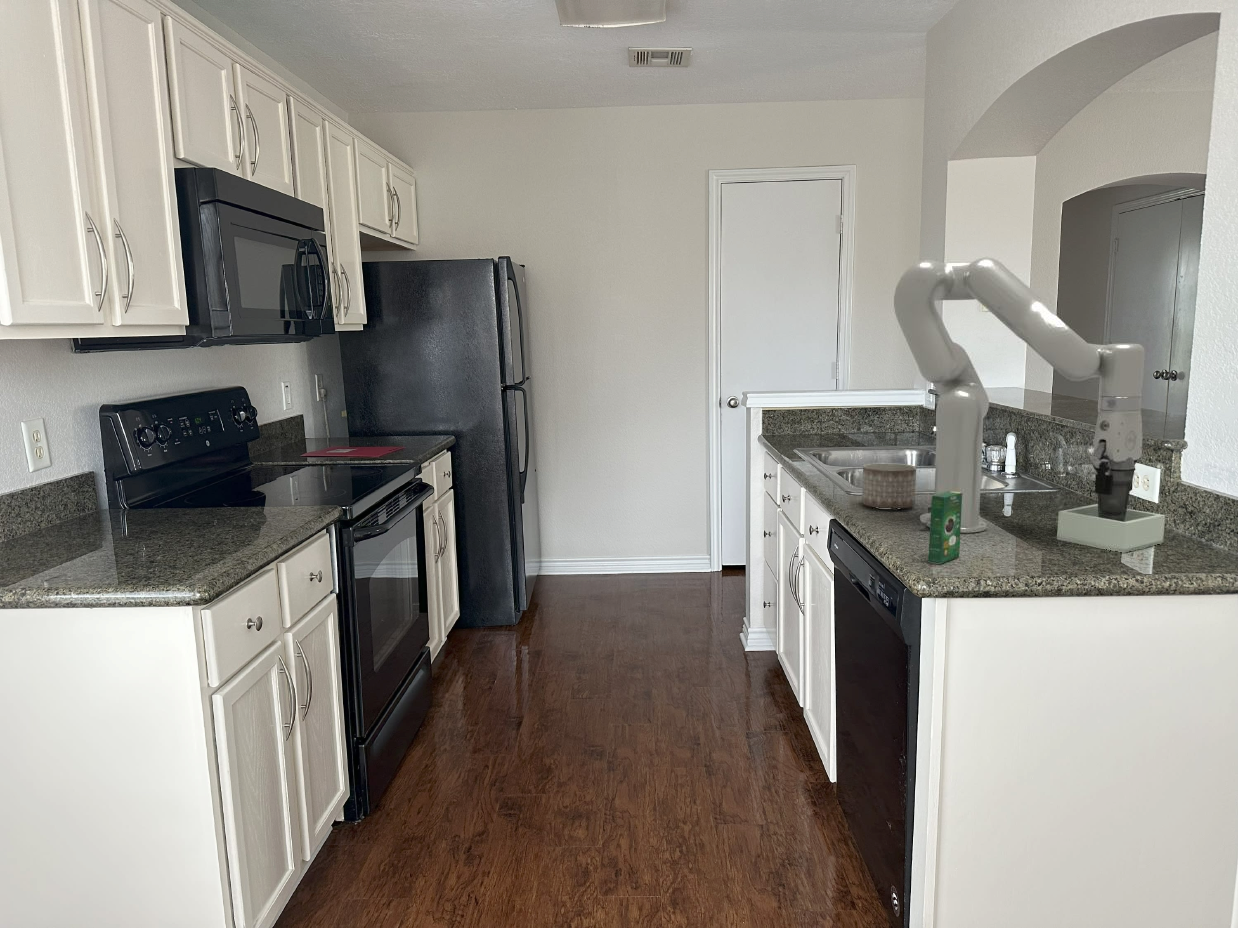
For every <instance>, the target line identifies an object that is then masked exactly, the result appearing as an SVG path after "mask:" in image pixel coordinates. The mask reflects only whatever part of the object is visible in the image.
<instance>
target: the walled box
mask: <svg viewBox="0 0 1238 928" xmlns="http://www.w3.org/2000/svg"><path fill="white" fill-rule="evenodd" d="M1165 520H1166V515H1165V514H1160V513H1156V512H1155V513H1154V512H1148V511H1142V510H1136V509H1130V508H1127V511H1126V517H1125V520H1124V522H1122V521H1116V520H1110V519H1105V518H1099V516H1098V503H1096V504H1095V503H1094V504H1091V505H1090V504H1089V505H1085V506H1079V507H1075V508H1069V509H1065V510H1058V518H1057V532H1056V533H1057V534H1056V540H1058V541H1063V542H1068V543H1072V544H1078V545H1082V546H1088V547H1093V548H1097V549H1101V550H1106V549H1107V550H1106V551H1110V550H1111V552H1115V551H1118V552H1117V553H1120V552H1122V553H1121V554H1126V552H1128V553H1130V552H1129V551H1132V552H1135V551H1134V550H1136V551H1139V550H1138V549H1140V550H1143V548H1144V549H1147V548H1146V547H1148V548H1150V547H1149V546H1152V547H1155V546H1154V545H1156V546H1158V545H1157V544H1160V545H1162V544H1161V543H1163V544H1164V533H1165V523H1166V521H1165Z"/></svg>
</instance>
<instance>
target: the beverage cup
mask: <svg viewBox="0 0 1238 928" xmlns="http://www.w3.org/2000/svg"><path fill="white" fill-rule="evenodd" d="M1103 459H1109V457H1103ZM1109 460H1110V459H1109ZM1104 464H1105V466H1106V468H1107V465H1108V463H1104ZM1136 470H1137V469H1136V464H1135V463H1134V460H1133V459H1132V458H1131V457H1128V458H1127V459H1126V460H1125V461H1123V462H1114V463H1113V469H1112V472H1111V475H1113V482H1112V494H1111V495H1105V494H1098V493H1096V494H1097V504H1098V516H1099V518H1105V519H1110V520H1116V521H1122V522H1124V520H1125V517H1126V511H1127V509H1128V506H1129V505H1128V504H1129V498H1130V493H1131V491H1130V487H1131V481H1132V479H1134V475H1135V471H1136Z"/></svg>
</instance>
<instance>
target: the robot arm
mask: <svg viewBox="0 0 1238 928" xmlns="http://www.w3.org/2000/svg"><path fill="white" fill-rule="evenodd" d="M969 300H976V301H977V302H979V304H981V305H982V306H983V307H985V308H986V310H988V311H989V312H990V313H991V314H992V315H994V317H996V318H997V319H998V320H999V321H1000V322H1001V323H1002V324H1003V325H1005V327H1006V328H1008V329H1009V331H1011V332H1012V333H1013V334H1014V335H1015V336H1017V338H1019V339H1021V340H1022V341H1023V342H1025V344H1027V345H1028V346H1029V347H1030V348H1031V349H1032V350H1033V351H1034V352H1036V353H1037V355H1039V356H1040V357H1041V358H1042V359H1043V360H1044V361H1045V362H1047V364H1049V365H1050V366H1051V367H1052V368H1053V369H1055V371H1056V372H1058V373H1059V374H1060V375H1061V376H1062V377H1064V378H1066V379H1067V380H1069V381H1073V382H1074V381H1075V382H1081V381H1084V380H1086V381H1087V380H1089V379H1090V378H1091V379H1092V378H1099V384H1098V385H1099V386H1098V387H1099V388H1098V401H1097V403H1098V404H1097V412H1098V414H1097V419H1096V425H1095V430H1094V437H1093V453H1092V454H1091V455H1090V461H1091V463H1092V465H1093V466H1092V467H1093V469H1094V470H1093V471H1094V474H1095V481H1094V482H1095V484H1094V493H1095V494H1097V493H1098V494H1105V495H1111V494H1112V482H1113V475H1111V472H1112V469H1113V463H1114V462H1123V461H1125V460H1126V459H1127V458H1128V457H1131V458H1132V459H1133V460H1134V463H1135V465H1136V464H1137V462H1138V460H1139V459H1140V458H1141V457H1142V453H1143V419H1142V412H1141V411H1142V410H1141V408H1142V395H1143V381H1144V368H1145V357H1146V356H1145V355H1146V353H1145V347H1144V346H1143V345H1142V344H1139V343H1109V344H1095V343H1088V342H1087V341H1085V340H1084V339H1083V337H1081V336H1080V335H1079V334H1077V333H1076V332H1075V331H1074V330H1073V329H1072V328H1070V326H1069V325H1067V324H1066V323H1065V322H1064V321H1063V320H1062V319H1061V318H1060V317H1059V316H1058V315H1057V314H1056V313H1055V312H1054V311H1053V309H1051V307H1050V305H1049V304H1048V303H1047V302H1046V301H1045V300H1044V299H1043V298H1042V297H1041V296H1040V295H1039V294H1037V293H1036V292H1035V291H1034V290H1033V289H1031V288H1030V287H1029V286H1028V285H1027V284H1025V283H1024V282H1023V280H1021V279H1020V278H1019V277H1018V276H1016V275H1015V274H1014V273H1013V272H1012V271H1011V270H1009V269H1008V268H1007V267H1006V266H1005V264H1003V263H1002V262H1000V260H998V259H995V258H993V257H988V256H987V257H986V256H985V257H980V258H976V259H975V260H973V261H963V262H962V261H961V262H959V261H958V262H939V261H937V260H933V259H923V260H918V261H917V262H915V263H913V264H912V265H910V266H909V267H908V268H907V269H906V270H905V272H904V273H903V274H902V276H901V277H900V278H899V280H898V283H897V285H896V287H895V290H894V295H893V308H894V313H895V317H896V321H897V322H898V325H899V327H900V329H901V332H902V333H903V336H904V338H905V340H906V343H907V345H908V347H909V349H910V352H911V354H912V356H913V358H914V361H915V364H916V365H917V367H918V370H919V372H920V375H921V376H922V377H923V378H924V379H925V380H926V381H927V382H929V383H930V384H933V386H934V389H935V390H936V393H937V394H938V397H939V400H938V401H937V404H936V405H937V406H936V407H935V408H936V409H935V411H936V412H935V428H936V429H935V432H936V435H935V436H936V439H935V441H936V445H935V470H934V491H933V492H934V493H933V495H936V494H940V493H944V492H948V491H957V492H962V510H961V530H960V534H962V533H963V534H964V533H967V534H969V533H978V532H983V531H985V530H986V529H987V523H986V522H985V521H982V520H980V504H981V483H982V465H983V462H982V461H983V437H984V435H983V434H984V433H983V431H984V427H983V425H984V418H985V417H986V415H987V413H988V412H989V408H990V400H989V397H988V394H987V391H986V390H985V387H984V385H983V383H982V381H981V379H980V377H979V375H978V373H977V370H976V368H975V367H974V364H973V363H972V361H971V359H970V356H969V355H968V353H967V352H966V350H965V349H964V348H963V346H961V345H960V344H958V343H957V342H954V341H953V339H952V337H951V336H950V334H949V332H948V330H947V328H946V325H945V323H944V321H943V319H942V317H941V315H940V313H939V311H938V309H937V307H936V303H935V301H969ZM1103 457H1109V459H1110V460H1109V459H1103ZM1104 463H1108V465H1107V468H1106V466H1105V464H1104ZM1133 479H1134V478H1133ZM1133 479H1132V481H1131V487H1130V492H1131V491H1133V483H1134V482H1133ZM930 519H931V511H930V512H926V513H922V514H921V515H920V516H919V520H920V522H921V523H922V524H925V525H926V527H927V528H929V529H930Z"/></svg>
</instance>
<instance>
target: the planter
mask: <svg viewBox="0 0 1238 928" xmlns="http://www.w3.org/2000/svg"><path fill="white" fill-rule="evenodd" d="M916 483H917V467H916V466H914V465H912V464H907V463H906V464H905V463H899V462H897V463H895V462H873V463H866V464H863V465H862V486H861V487H862V489H861V490H862V491H861V493H862V494H861V495H862V496H861V502H862V504H863V505H865V506H868V507H872V508H874V507H878V508H891V509H898V508H902V509H908V508H911V507H914V506H915V503H916Z"/></svg>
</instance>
